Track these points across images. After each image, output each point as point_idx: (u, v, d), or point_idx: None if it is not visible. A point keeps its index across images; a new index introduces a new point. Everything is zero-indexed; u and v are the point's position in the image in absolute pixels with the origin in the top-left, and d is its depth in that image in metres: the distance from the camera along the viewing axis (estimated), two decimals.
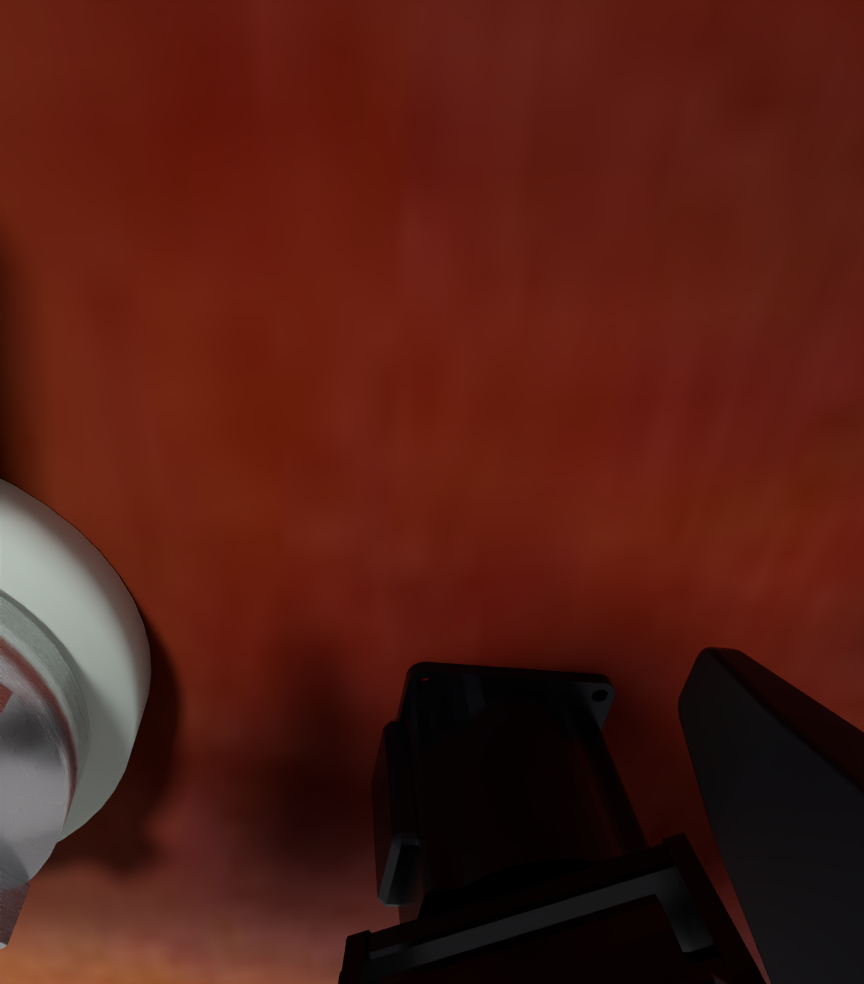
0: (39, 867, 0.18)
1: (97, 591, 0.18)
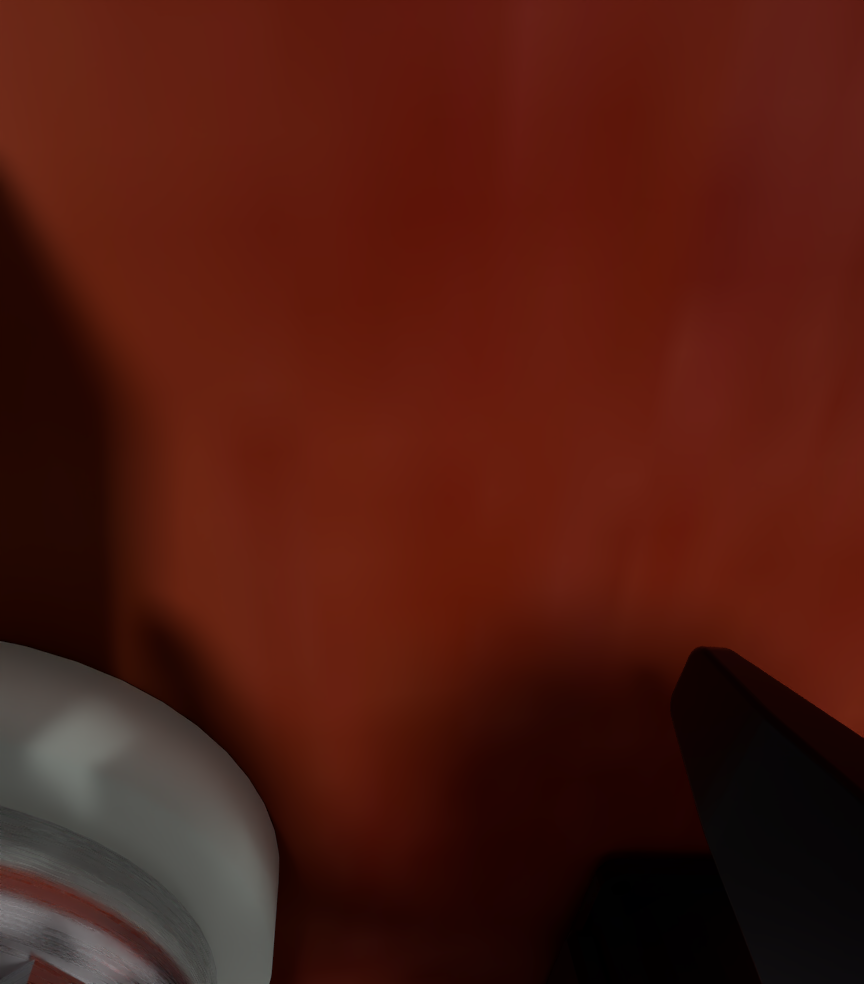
0: None
1: (231, 815, 0.14)
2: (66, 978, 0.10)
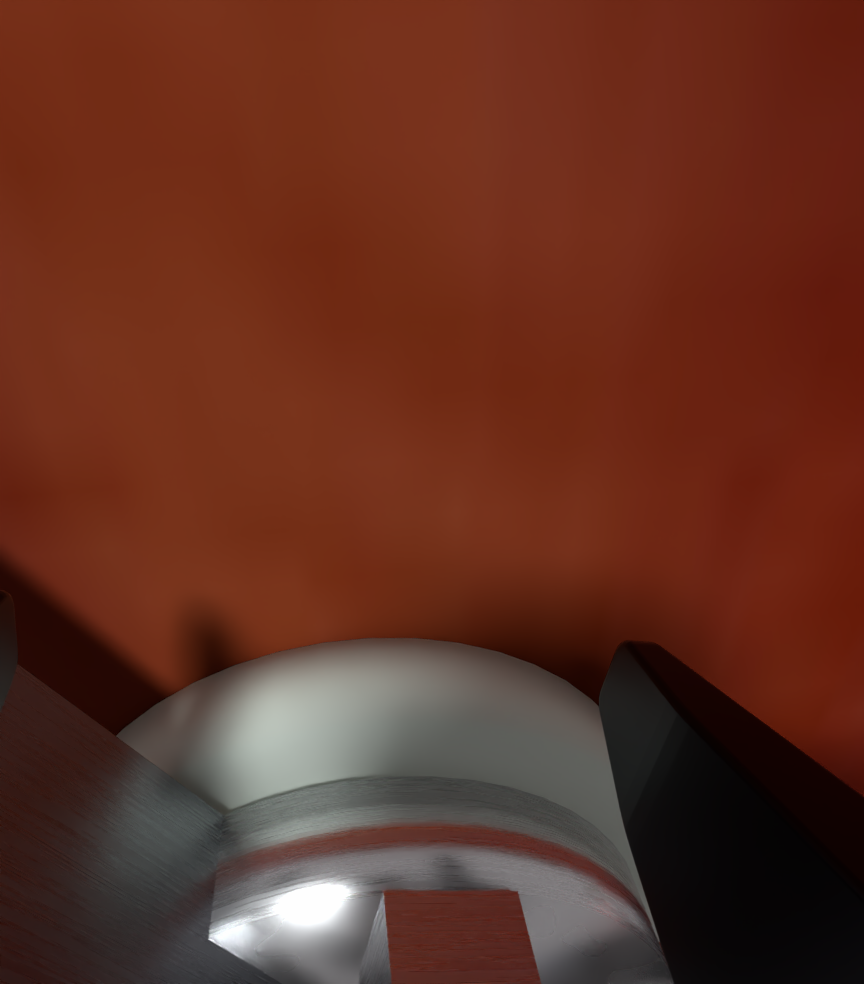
0: None
1: None
2: (421, 894, 0.10)
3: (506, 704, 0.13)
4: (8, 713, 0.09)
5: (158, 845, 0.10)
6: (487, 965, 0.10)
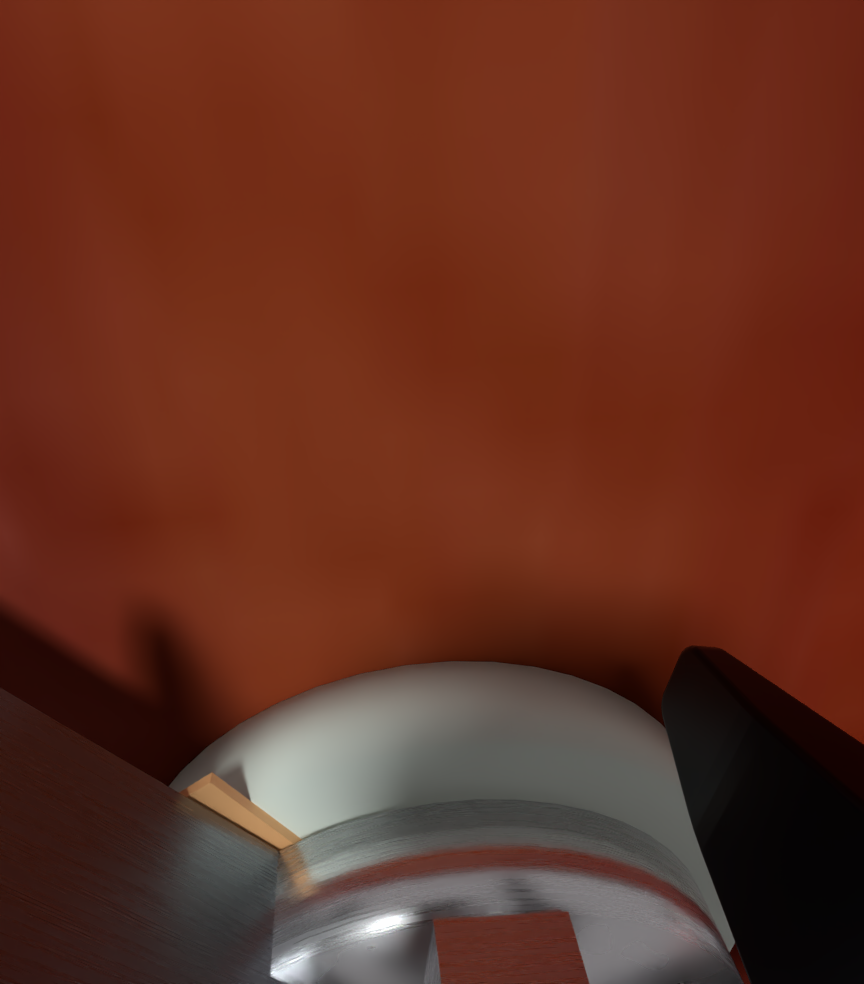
0: None
1: None
2: (471, 921, 0.10)
3: (586, 728, 0.13)
4: (60, 776, 0.10)
5: (215, 888, 0.11)
6: None
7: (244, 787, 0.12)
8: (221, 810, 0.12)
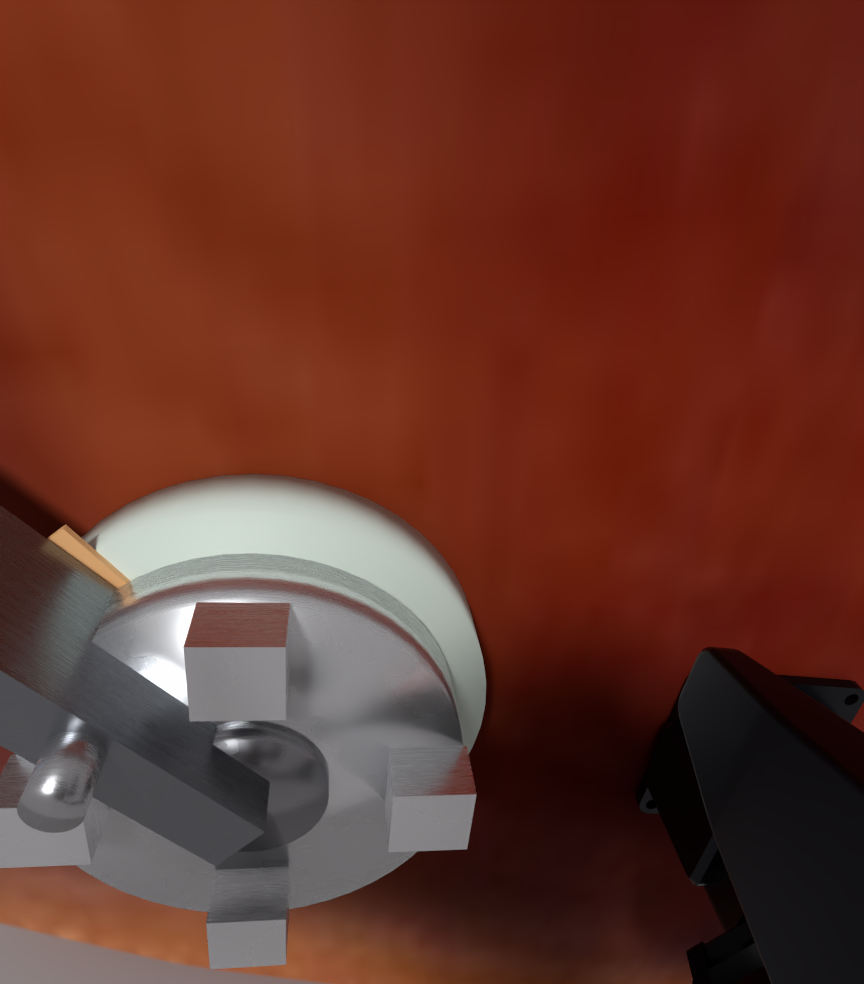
0: (459, 728, 0.19)
1: (466, 608, 0.21)
2: (221, 603, 0.16)
3: (339, 514, 0.19)
4: None
5: (58, 587, 0.16)
6: (253, 632, 0.15)
7: (94, 546, 0.18)
8: (72, 552, 0.17)
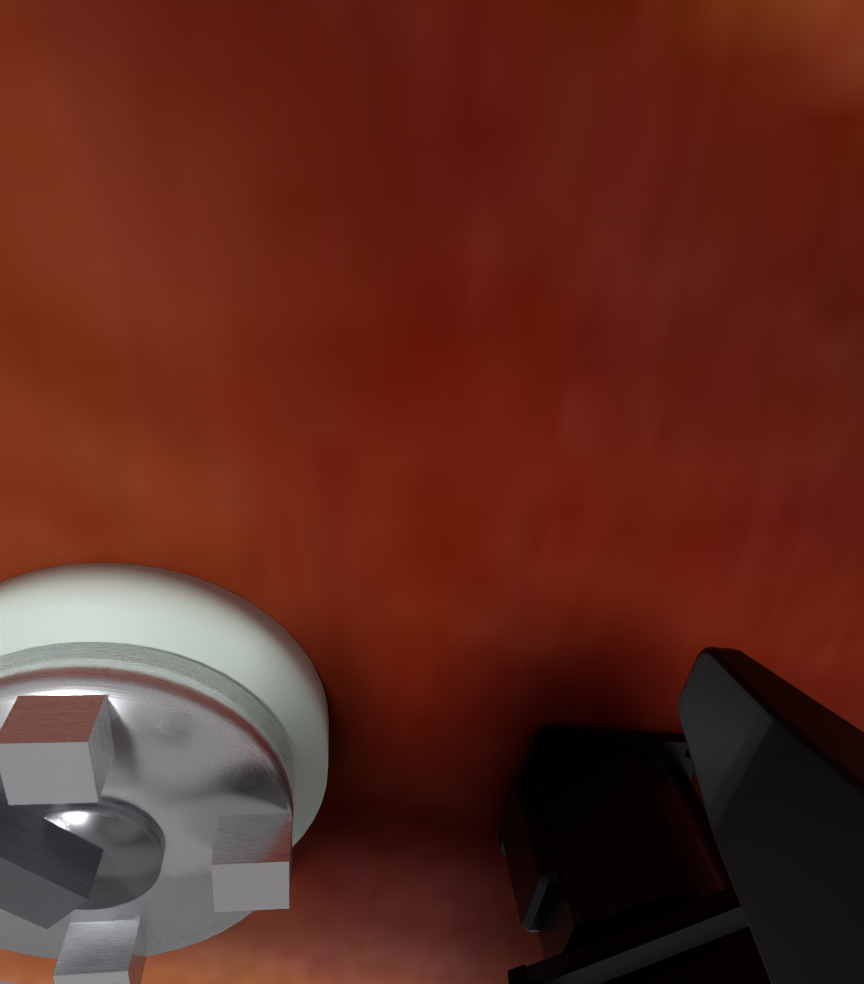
0: (282, 798, 0.20)
1: (306, 680, 0.23)
2: (41, 696, 0.18)
3: (172, 602, 0.20)
4: None
5: None
6: (62, 726, 0.17)
7: None
8: None
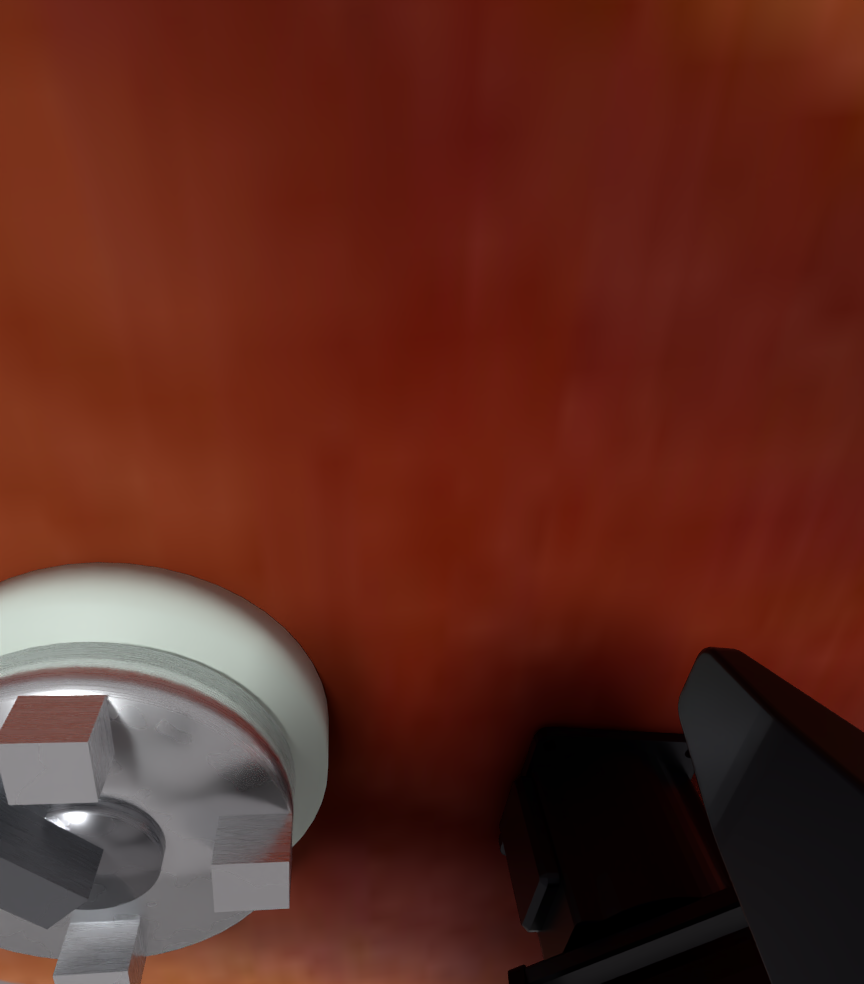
0: (282, 798, 0.20)
1: (305, 680, 0.23)
2: (41, 696, 0.18)
3: (172, 602, 0.20)
4: None
5: None
6: (62, 726, 0.17)
7: None
8: None
